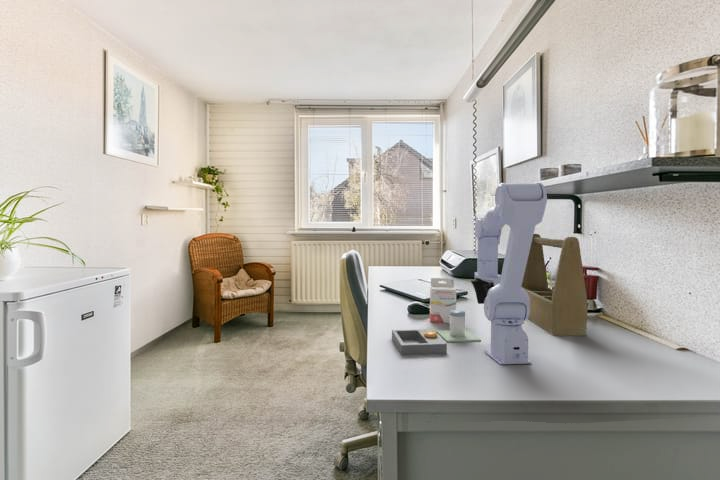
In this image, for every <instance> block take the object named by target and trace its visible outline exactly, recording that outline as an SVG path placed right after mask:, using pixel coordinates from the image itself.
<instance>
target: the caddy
mask: <svg viewBox="0 0 720 480" xmlns="http://www.w3.org/2000/svg"><path fill="white" fill-rule="evenodd" d="M543 246H546V247H552V248H558V249H561V251H560V255H559V261H558V265H557V269H556V275H555V281H554V285H553V288H551V287H549V283H548V275H547V268H546V261H545V255H544V247H543ZM583 267H584V266H583V260H582V254H581V247H580V241H579V239H578V237H575V236H567V237H565V238H564V239H559V238H557V239H553V238H547V237H541V235H540V234H538V233H534V234H533V238H532V243H531V247H530V251H529V255H528V260H527V264H526V268H525V273H524V277H523V281H522V285H521V287H522V288H523V289H524V290H525V291H526V292H527V293H528V295H529V298H530V314H529V317H528V318H527V320H529V321H530V322H532V323H533V324H535V325H536V326H538V327H540V328H541V329H542V330H544V331H545V332H547V333H548V334H550V335H551V336H570V337H571V336H572V337H573V336H575V337H577V336H578V337H579V336H583V337H584V336H587V333H588V332H587V329H588V327H587V326H588V325H587V324H588V310H589V305H588V296H587V289H586V281H585V274H584V268H583Z"/></svg>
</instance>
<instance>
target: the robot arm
mask: <svg viewBox="0 0 720 480" xmlns="http://www.w3.org/2000/svg"><path fill="white" fill-rule="evenodd" d="M494 203H495V206H492V207H491V208H489V209H488V210H487V212H486V214H484V216H483V218H482V219H481V218H477V219H476V221H475V225H474V235H475V238H476V239H477V256H476V257H477V262H476V264H477V265H476V267H477V268H476V270H477V271H475V272H474V279H472V280H471V281H470V282H471V284H472V286H473V289H474V292H475V296H476V300H477V303H478V304H479V305H481V304H482V305H483V312H484V315H485V316H484V317H485V318H486V319H487V320H488V321H490V349H485V350H484V353H485V354H487V355H488V356H489V357H491V359H493V360H494V361H495V362H497V363H498V364H499V365H520V364H521V365H522V364H523V365H524V364H532V361H531V359H529V336H528V333H526V330H524V328H523V326H522V325H524V324H525V322H526V321H527V320H528V319H527V318H528V317H529V314H530V298H529V295H528V293H527V292H526V291H525V290H524V289H523V288H522V287H521V285H522V281H523V277H524V273H525V268H526V264H527V260H528V255H529V251H530V247H531V243H532V238H533V234H535V228H536V226H537V225H539V224H540V223H542V222H543V217H544V215H545V211H546V207H547V203H548V196H547V188H546V186H545V185H544V184H543V183H542V182H536V183H534V182H533V183H532V182H531V183H505V182H501V183H499V184H498V185H497V187H496V188H495V194H494ZM505 225H506V226H508V227H509V229H510V230H509V234H508V239H507V244H506V248H505V249H506V250H505V255H504V260H503V265H502V271H501V274H499V273H498V269H499V266H498V265H499V245H500V243H501V235H502V229H503V228H504V226H505Z"/></svg>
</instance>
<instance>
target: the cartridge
mask: <svg viewBox="0 0 720 480" xmlns="http://www.w3.org/2000/svg"><path fill="white" fill-rule="evenodd" d="M449 330H450V335H451V336H453V337H464V336H465V330H466V311H464V310H460V309H456V310H451V311H450V323H449Z"/></svg>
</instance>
